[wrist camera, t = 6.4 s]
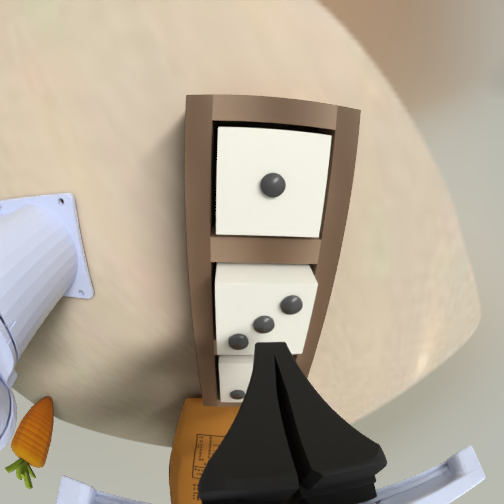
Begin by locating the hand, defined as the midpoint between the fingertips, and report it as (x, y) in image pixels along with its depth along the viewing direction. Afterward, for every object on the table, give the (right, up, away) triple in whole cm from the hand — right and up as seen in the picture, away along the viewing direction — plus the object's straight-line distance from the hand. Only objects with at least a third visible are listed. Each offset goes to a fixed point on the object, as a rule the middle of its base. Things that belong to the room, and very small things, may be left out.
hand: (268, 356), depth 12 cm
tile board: (0, +3, +6) cm, 7 cm away
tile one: (0, +9, +3) cm, 10 cm away
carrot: (-28, -15, +14) cm, 35 cm away
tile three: (0, +2, +5) cm, 5 cm away
